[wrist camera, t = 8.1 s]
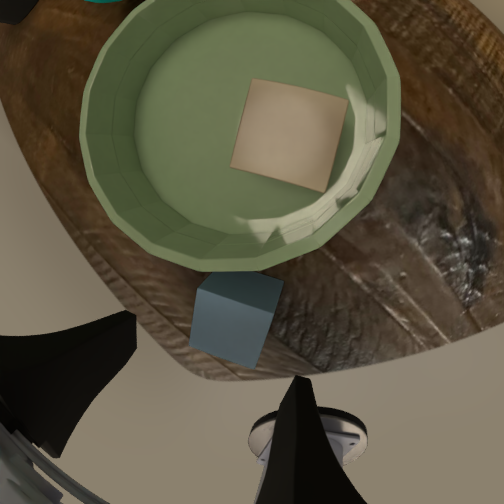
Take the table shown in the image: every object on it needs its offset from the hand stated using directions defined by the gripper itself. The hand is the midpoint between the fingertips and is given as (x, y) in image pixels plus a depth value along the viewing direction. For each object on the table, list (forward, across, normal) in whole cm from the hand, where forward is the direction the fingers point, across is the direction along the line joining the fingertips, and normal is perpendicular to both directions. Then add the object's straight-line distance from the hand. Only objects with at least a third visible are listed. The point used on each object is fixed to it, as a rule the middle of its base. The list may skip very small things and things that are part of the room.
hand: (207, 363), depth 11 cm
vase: (+7, +41, -30) cm, 52 cm away
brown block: (+7, 0, -10) cm, 12 cm away
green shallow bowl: (+7, +3, -10) cm, 13 cm away
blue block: (+7, 0, +1) cm, 7 cm away
